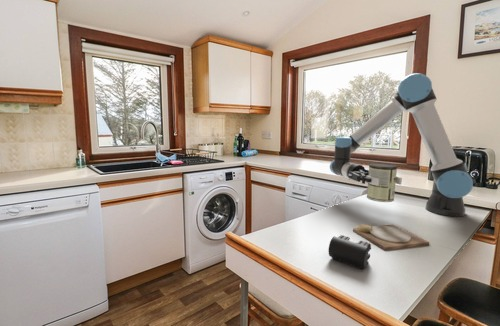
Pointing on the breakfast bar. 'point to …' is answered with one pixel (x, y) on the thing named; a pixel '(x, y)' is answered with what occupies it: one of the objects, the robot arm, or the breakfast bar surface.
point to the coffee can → (382, 182)
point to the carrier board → (389, 237)
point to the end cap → (350, 251)
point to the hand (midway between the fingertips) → (389, 181)
